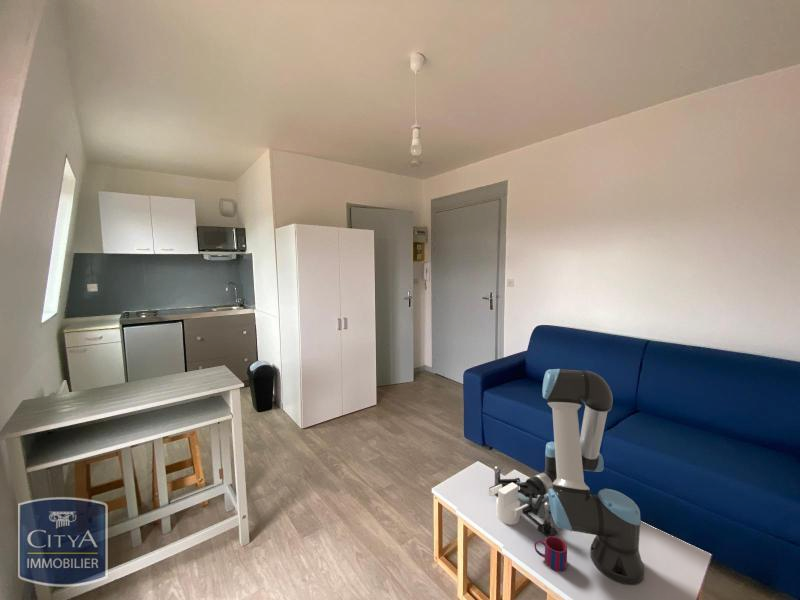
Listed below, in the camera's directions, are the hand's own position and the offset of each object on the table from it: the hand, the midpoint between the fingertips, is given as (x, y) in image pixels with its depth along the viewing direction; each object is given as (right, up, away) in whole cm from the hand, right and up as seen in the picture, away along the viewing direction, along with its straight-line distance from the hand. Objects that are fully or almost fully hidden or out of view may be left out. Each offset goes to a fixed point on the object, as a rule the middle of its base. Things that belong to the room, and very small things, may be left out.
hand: (502, 502), depth 130 cm
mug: (+11, -9, -18) cm, 23 cm away
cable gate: (+9, -6, +5) cm, 12 cm away
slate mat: (+18, -6, +10) cm, 21 cm away
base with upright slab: (+3, -7, +2) cm, 8 cm away
